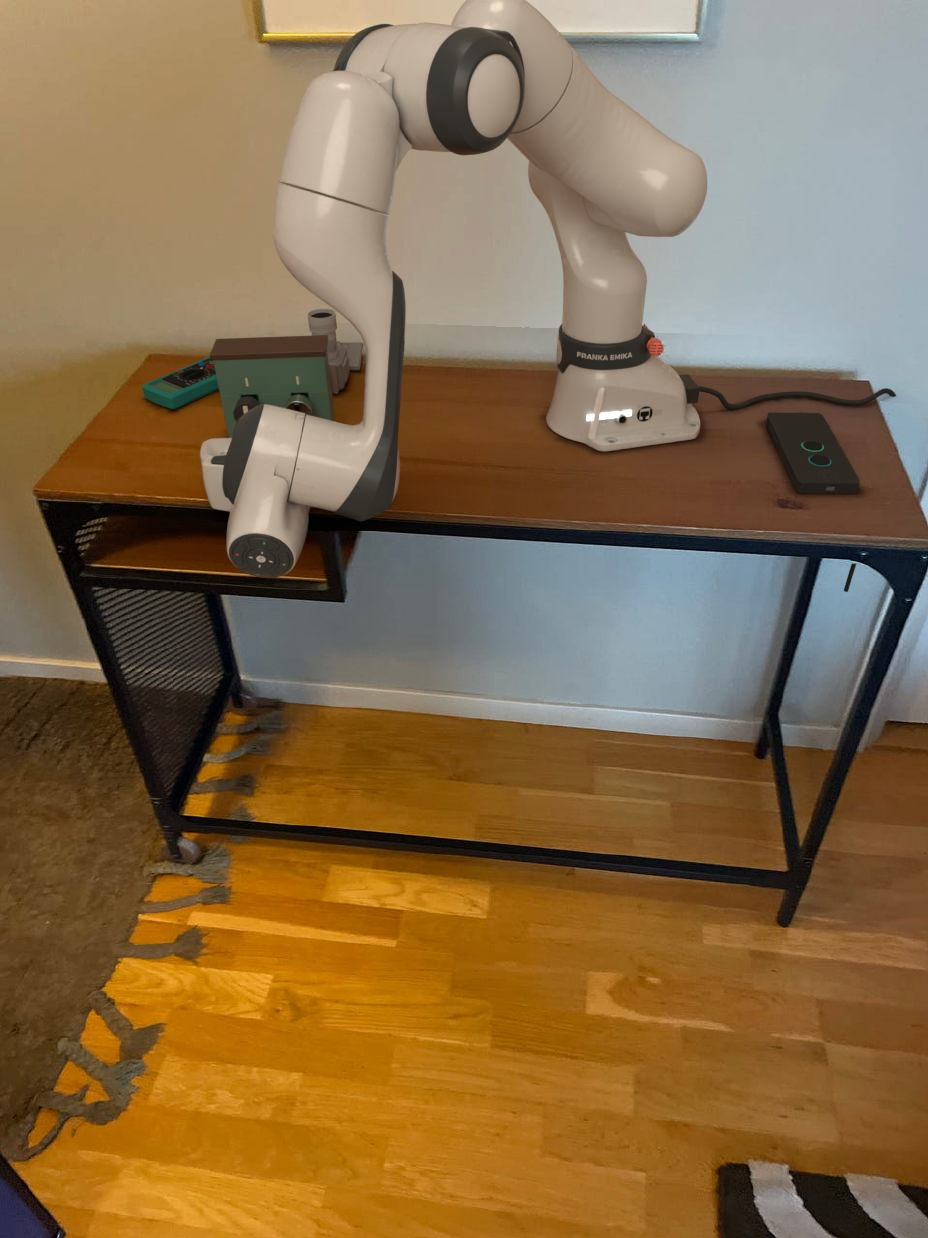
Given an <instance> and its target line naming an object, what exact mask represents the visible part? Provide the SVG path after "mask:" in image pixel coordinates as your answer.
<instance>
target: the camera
mask: <svg viewBox="0 0 928 1238" xmlns="http://www.w3.org/2000/svg"><path fill="white" fill-rule="evenodd" d="M336 315H337V314H336V310H335V309H332V308H316V309H312V310H310V311H309V312H308V313H307V322H308V330H309V332H310V333H311V336H313V335H328V346H327V352H328V361H329V370H330V378H331V387H332V395H338V394H339V393H340V392H339V391H342V390H343V389H344V388H345V385H346V384H347V382H348V378H349V375H350V372H351V371H360V370H361V365H362V357H363V349H364V342H363V341H360V342H359V341H358V342H355V341H352V342H349V341H345V342H344V341H343V342H342V341H340V340H337V333H336V332H337V331H336V330H337V329H338V324H337V316H336Z"/></svg>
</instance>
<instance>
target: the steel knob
mask: <svg viewBox="0 0 928 1238" xmlns="http://www.w3.org/2000/svg"><path fill="white" fill-rule="evenodd" d="M286 409H290V410H294V411H298V412H302V413H305V416H306V414H307V415H311V414H312V403H311V401H310V400H309V399H308V398H307V397H306V396H305V394H303V393H299V394H298V395H293V396H291V397H290V398H289V399H288V401H287V403H286ZM304 420H305V418H304ZM303 424H304V423H303Z"/></svg>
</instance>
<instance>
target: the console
mask: <svg viewBox="0 0 928 1238" xmlns="http://www.w3.org/2000/svg"><path fill="white" fill-rule="evenodd" d="M327 346H328V335H313V336H312V335H289V336H261V337H259V336H258V337H233V338H231V337H228V338H227V337H226V338H215V341H214V343H213V346H212V348H211V350H210V353H209V356H210V360H213V361H214V366H215V371H216V376H217V381H218V386H219V390H218V391H219V396H220V402H221V406H222V410H223V416H224V421H225V426H226V431H227V436H228V437H227V438H232V436H233V432H234V429H235V426H236V423H237V422H236V420H235V418H234V415H233V413H234V409H235V406H236V403H237V401H238V400H239V399H240V398H242V397H246V396H249V395H254V396H255V397H256V400H258V401H259V403H260V404H263V403H264V404H267V405H273V406H277V407H282V408H286V403H287V401H288V399H289V398H290V397H291V396H293V395H298V394H299V393H303V394H305V396H306V397H307V398H308V399H309V400H310V401H311V403H312V414H311V416H315V417H319V418H323V419H327V420H331V421H335V422H336V414H335V405H334V396H333V393H332V387H331V378H330V370H329V361H328V352H327ZM303 425H304V424H303ZM302 430H303V428H302Z"/></svg>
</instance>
